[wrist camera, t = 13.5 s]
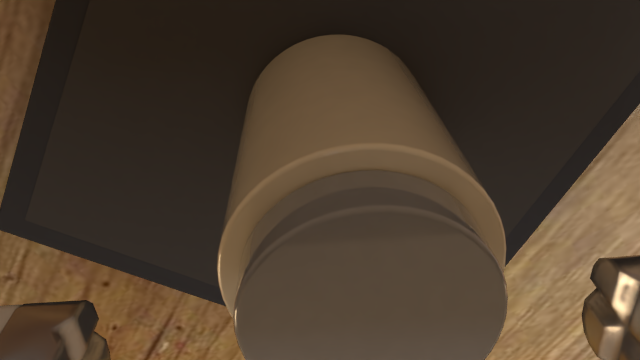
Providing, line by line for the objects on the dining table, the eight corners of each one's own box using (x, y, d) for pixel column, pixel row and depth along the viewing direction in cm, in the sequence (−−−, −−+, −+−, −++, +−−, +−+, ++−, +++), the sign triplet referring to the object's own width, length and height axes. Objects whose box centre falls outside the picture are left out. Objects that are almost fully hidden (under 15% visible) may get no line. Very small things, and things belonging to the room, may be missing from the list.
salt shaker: (218, 160, 16) (160, 382, 9) (293, -1, 14) (295, 122, 7) (368, 221, 17) (422, 458, 10) (458, 83, 15) (604, 261, 8)
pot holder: (2, 218, 18) (-8, 230, 17) (165, -380, 11) (158, -395, 10) (415, 360, 22) (419, 373, 21) (717, -12, 15) (734, -7, 14)
